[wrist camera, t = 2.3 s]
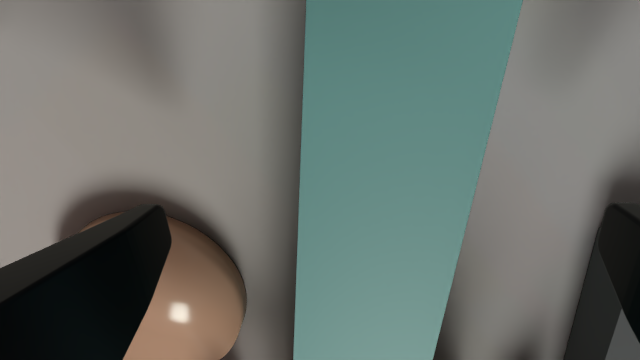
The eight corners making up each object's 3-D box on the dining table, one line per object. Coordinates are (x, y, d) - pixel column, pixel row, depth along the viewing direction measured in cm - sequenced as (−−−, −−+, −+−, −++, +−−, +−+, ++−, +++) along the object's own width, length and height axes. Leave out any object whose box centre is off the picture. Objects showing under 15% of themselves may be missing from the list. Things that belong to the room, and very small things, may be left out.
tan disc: (230, 211, 13) (222, 227, 12) (257, 357, 16) (252, 377, 15) (41, 211, 14) (22, 225, 13) (99, 350, 16) (86, 368, 16)
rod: (469, -24, 10) (524, -6, 6) (395, 360, 15) (401, 483, 12) (331, -33, 10) (307, -21, 6) (309, 348, 15) (289, 467, 12)
